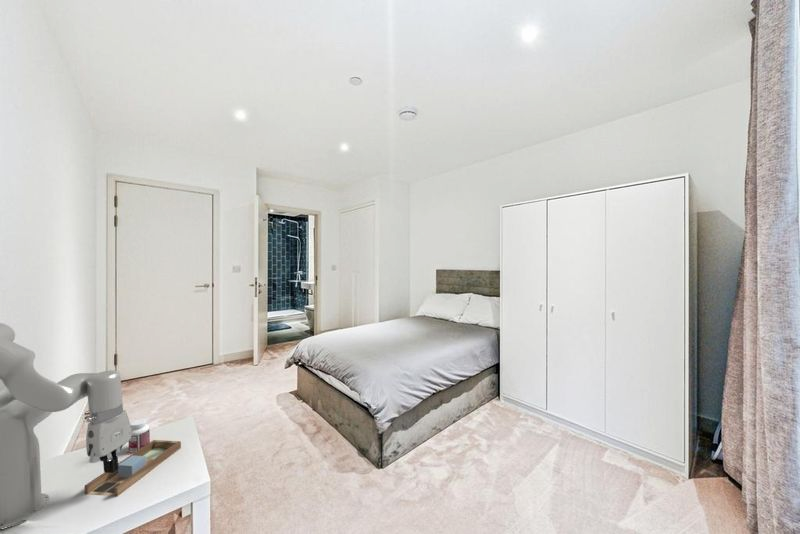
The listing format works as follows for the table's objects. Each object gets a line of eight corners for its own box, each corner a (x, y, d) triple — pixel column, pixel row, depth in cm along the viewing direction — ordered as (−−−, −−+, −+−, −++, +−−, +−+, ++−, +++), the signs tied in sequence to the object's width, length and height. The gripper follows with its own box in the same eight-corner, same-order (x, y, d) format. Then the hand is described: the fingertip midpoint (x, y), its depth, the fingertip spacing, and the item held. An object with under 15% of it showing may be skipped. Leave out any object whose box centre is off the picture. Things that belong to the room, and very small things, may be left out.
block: (118, 477, 102) (117, 465, 102) (132, 466, 107) (132, 455, 107) (132, 478, 102) (131, 466, 102) (146, 467, 107) (145, 456, 107)
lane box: (84, 496, 95) (84, 485, 95) (154, 448, 119) (153, 439, 119) (117, 499, 94) (117, 488, 94) (181, 450, 118) (180, 441, 118)
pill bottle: (150, 443, 122) (149, 416, 122) (150, 451, 118) (149, 422, 117) (129, 450, 119) (128, 421, 118) (128, 458, 114) (127, 428, 113)
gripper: (91, 426, 88) (96, 489, 89) (140, 401, 103) (144, 455, 104) (67, 426, 89) (73, 488, 90) (119, 401, 104) (123, 455, 105)
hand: (111, 470), depth 97 cm, fingers closed
